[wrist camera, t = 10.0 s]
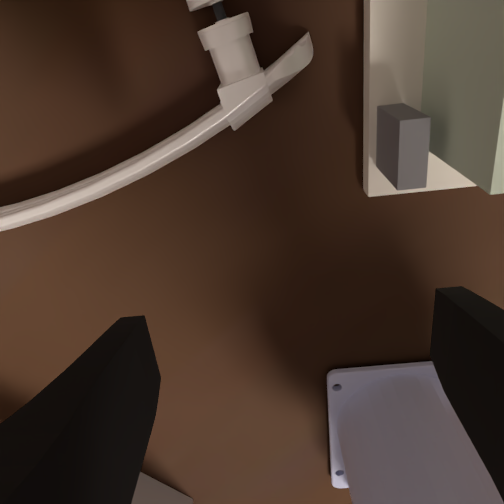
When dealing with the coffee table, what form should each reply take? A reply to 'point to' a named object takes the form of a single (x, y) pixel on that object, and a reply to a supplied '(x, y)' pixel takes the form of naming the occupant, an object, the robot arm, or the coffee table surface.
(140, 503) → the hinge
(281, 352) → the coffee table surface
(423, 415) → the robot arm
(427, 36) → the long rectangular block
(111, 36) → the coffee table surface
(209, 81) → the coffee table surface
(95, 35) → the coffee table surface
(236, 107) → the door handle
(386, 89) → the plate with corner feet
